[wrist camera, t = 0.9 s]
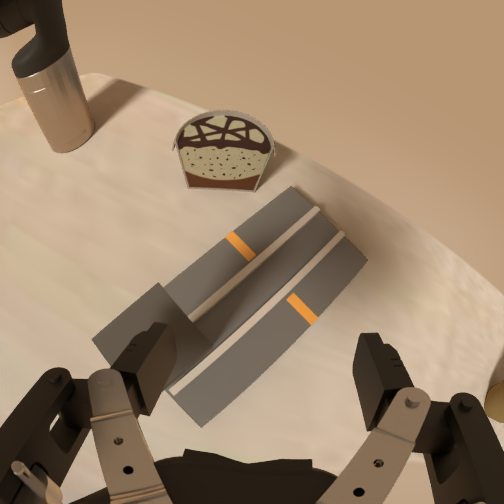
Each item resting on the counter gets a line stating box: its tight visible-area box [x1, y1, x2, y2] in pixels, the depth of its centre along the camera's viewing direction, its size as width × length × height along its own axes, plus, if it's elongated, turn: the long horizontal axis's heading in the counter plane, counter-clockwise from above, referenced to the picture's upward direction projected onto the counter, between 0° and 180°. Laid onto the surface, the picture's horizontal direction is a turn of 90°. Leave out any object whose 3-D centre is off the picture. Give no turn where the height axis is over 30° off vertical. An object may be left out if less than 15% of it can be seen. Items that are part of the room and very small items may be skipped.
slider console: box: [164, 186, 368, 428], centre depth 33 cm, size 14×28×4 cm, turn 134°
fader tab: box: [92, 282, 213, 391], centre depth 21 cm, size 4×5×16 cm
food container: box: [172, 110, 276, 192], centre depth 37 cm, size 12×6×10 cm, turn 90°
